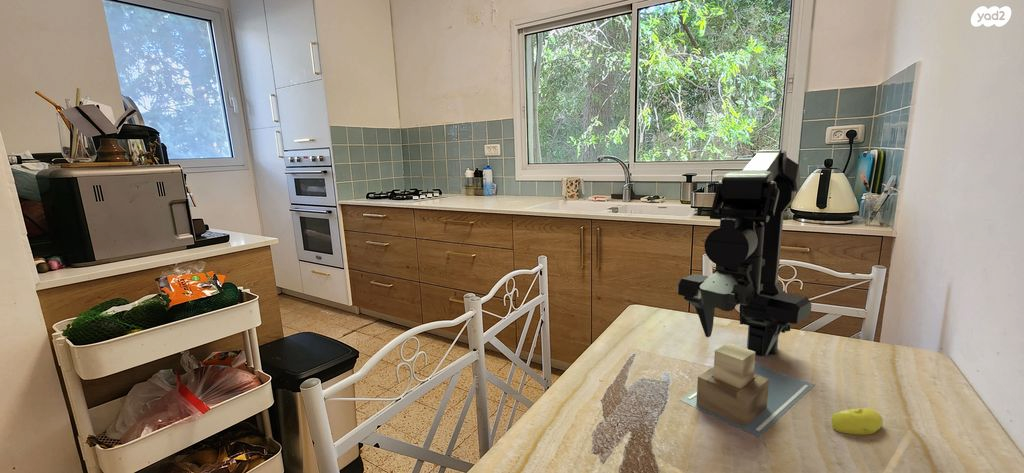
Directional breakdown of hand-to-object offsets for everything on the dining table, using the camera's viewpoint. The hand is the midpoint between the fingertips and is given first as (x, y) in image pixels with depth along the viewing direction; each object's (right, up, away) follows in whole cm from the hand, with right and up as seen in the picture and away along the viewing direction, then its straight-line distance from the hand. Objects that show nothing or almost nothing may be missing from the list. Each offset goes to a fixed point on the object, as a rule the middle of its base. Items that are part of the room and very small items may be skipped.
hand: (735, 345), depth 70 cm
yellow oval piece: (+17, -13, -4) cm, 21 cm away
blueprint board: (+6, -11, +6) cm, 14 cm away
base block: (0, -11, +2) cm, 11 cm away
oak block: (0, -7, +1) cm, 7 cm away
